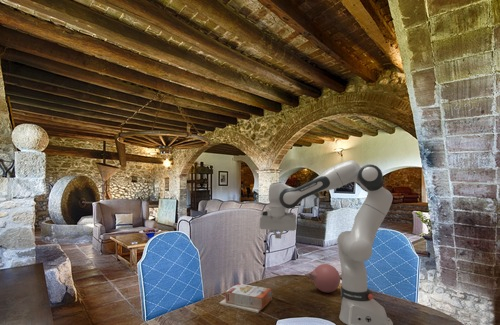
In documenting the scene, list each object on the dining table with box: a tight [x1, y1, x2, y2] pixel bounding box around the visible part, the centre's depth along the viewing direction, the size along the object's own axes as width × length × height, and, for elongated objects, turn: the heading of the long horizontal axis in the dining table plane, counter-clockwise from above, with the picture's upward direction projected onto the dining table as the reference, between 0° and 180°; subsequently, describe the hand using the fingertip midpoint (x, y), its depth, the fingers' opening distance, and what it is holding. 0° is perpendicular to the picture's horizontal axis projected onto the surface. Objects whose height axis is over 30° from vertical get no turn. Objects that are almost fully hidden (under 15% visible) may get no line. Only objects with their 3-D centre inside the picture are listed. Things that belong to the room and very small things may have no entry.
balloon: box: [304, 263, 341, 293], centre depth 162 cm, size 15×20×15 cm
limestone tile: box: [219, 297, 262, 314], centre depth 148 cm, size 22×18×1 cm
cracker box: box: [225, 282, 273, 310], centre depth 147 cm, size 14×6×21 cm
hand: (278, 238), depth 150 cm, fingers closed
